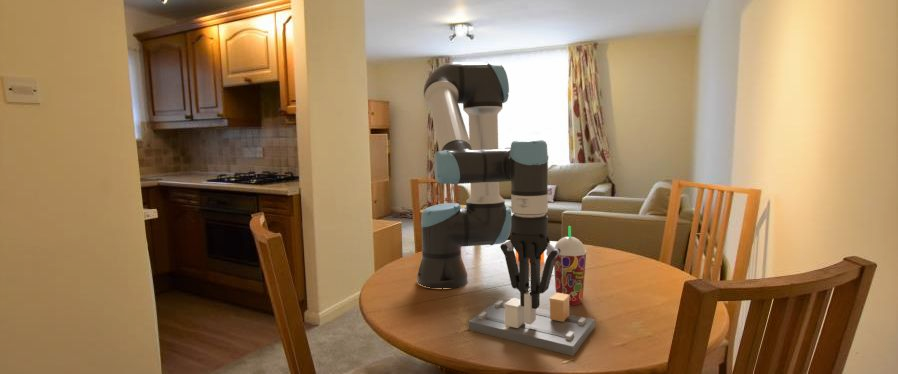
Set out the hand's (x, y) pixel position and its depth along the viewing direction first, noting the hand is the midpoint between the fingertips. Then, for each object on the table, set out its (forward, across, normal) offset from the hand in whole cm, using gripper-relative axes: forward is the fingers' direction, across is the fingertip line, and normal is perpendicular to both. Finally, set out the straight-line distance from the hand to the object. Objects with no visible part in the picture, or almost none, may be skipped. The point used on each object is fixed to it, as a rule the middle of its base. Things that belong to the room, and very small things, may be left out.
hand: (530, 321), depth 96 cm
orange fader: (+1, +4, +8) cm, 9 cm away
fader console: (+4, -1, +4) cm, 5 cm away
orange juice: (+4, -24, +56) cm, 61 cm away
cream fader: (+1, -3, 0) cm, 4 cm away
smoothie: (+4, +1, +24) cm, 24 cm away
